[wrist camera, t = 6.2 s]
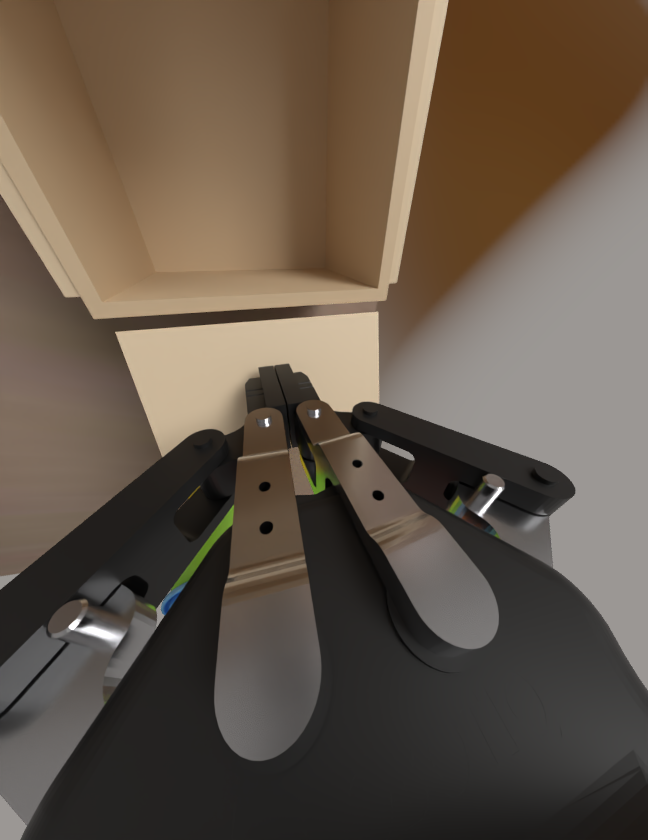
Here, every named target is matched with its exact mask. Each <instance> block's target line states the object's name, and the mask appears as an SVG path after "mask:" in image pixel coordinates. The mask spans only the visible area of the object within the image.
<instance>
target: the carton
mask: <svg viewBox="0 0 648 840" xmlns="http://www.w3.org/2000/svg"><path fill="white" fill-rule="evenodd" d="M447 5H448V0H0V194H1V196H2V197H3V199H4V201H5V202H6V204H7V205H8V207H9V209H10V210H11V212H12V213H13V215H14V217H15V218H16V220H17V221H18V223H19V224H20V226H21V228H22V229H23V231H24V232H25V234H26V236H27V237H28V239H29V240H30V242H31V244H32V245H33V247H34V248H35V250H36V252H37V253H38V255H39V256H40V258H41V260H42V261H43V263H44V264H45V266H46V268H47V269H48V271H49V272H50V274H51V276H52V277H53V279H54V280H55V282H56V284H57V285H58V287H59V288H60V290H61V291H62V293H63V295H64V296H65V297H81V298H82V300H83V301H84V303H85V305H86V307H87V308H88V310H89V312H90V313H91V315H92V317H93V318H94V319H104V318H120V317H135V316H151V315H167V314H182V313H198V312H214V311H229V310H245V309H261V308H276V307H292V306H308V305H323V304H339V303H355V302H370V301H385V300H386V298H387V292H388V286H389V283H397V278H398V273H399V268H400V262H401V257H402V251H403V245H404V240H405V235H406V229H407V224H408V218H409V213H410V208H411V202H412V196H413V191H414V186H415V180H416V175H417V169H418V164H419V158H420V153H421V147H422V142H423V136H424V131H425V125H426V120H427V114H428V109H429V103H430V98H431V93H432V87H433V82H434V77H435V71H436V65H437V60H438V55H439V49H440V44H441V38H442V33H443V27H444V21H445V17H446V11H447Z"/></svg>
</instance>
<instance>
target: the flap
mask: <svg viewBox="0 0 648 840" xmlns="http://www.w3.org/2000/svg"><path fill="white" fill-rule="evenodd" d="M115 333H116V335H117V338H118V341H119V343H120V346H121V349H122V351H123V354H124V357H125V359H126V362H127V365H128V367H129V370H130V372H131V375H132V378H133V380H134V383H135V386H136V388H137V391H138V394H139V396H140V399H141V402H142V404H143V407H144V410H145V412H146V415H147V418H148V420H149V423H150V426H151V428H152V431H153V434H154V436H155V439H156V442H157V444H158V447H159V450H160V452H161V455H162V457H164V456H165V455H166V454H167V453H168V452H170V451H171V450H172V449H173V448H175V447H176V446H177V445H178V444H179V443H181V442H182V441H183V440H184V439H186V438H187V437H188V436H190V435H191V434H193V433H195V432H198V431H201V430H205V429H216V430H219V431H221V432H222V433H223V434H224V435H227V434H229V433H232V432H234V431H236V430H238V429H240V428H241V427H242V426H243V425H244V422H245V418H246V416H247V415H248V412H247V402H246V391H245V384H246V382H247V381H248V379H250V378H258V377H260V375H259V369H258V367H264V366H272V365H273V366H274V365H280V364H288V363H289V364H290V367H291V369H292V371H293V373H295V372H302V373H304V374H305V375H307V376H308V378H309V380H310V382H311V383H312V385H313V387H314V389H315V391H316V393H317V394H318V396H319V398H320V400H321V401H324V402H326V403H328V404H329V405H330V406H331V408H332V409H333V411H338V412H352V409H353V407H354V406H355V405H356V404H358V403H360V402H375V403H378V404H379V344H378V343H379V342H378V312H370V313H356V314H343V315H330V316H317V317H304V318H291V319H278V320H265V321H252V322H239V323H226V324H213V325H200V326H187V327H174V328H160V329H147V330H134V331H121V332H115Z"/></svg>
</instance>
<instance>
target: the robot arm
mask: <svg viewBox="0 0 648 840" xmlns="http://www.w3.org/2000/svg"><path fill="white" fill-rule="evenodd" d="M258 369H259V375H260V377H258V378H250V379H248V381H247V382H246V384H245V391H246V402H247V412H248V415H247V416H246V418H245V422H244V425H243V426H242V427H241V428H240V429H238V430H236V431H234V432H232V433H229V434H227V435H224V434H223V433H222V432H221V431H219V430H216V429H205V430H201V431H198V432H195V433H193V434H191V435H190V436H188V437H187V438H186V439H184V440H183V441H182V442H181V443H179V444H178V445H177V446H176V447H175V448H173V449H172V450H171V451H170V452H168V453H167V454H166V455H165V456H164V457H162V458H161V459H160V460H159V461H157V462H156V463H155V464H154V465H153V466H151V467H150V468H149V469H148V470H146V471H145V472H144V473H143V474H142V475H140V476H139V477H138V478H137V479H135V480H134V481H133V482H132V483H130V484H129V485H128V486H127V487H126V488H124V489H123V490H122V491H121V492H119V493H118V494H117V495H116V496H115V497H113V498H112V499H111V500H110V501H108V502H107V503H106V504H105V505H104V506H102V507H101V508H100V509H99V510H97V511H96V512H95V513H94V514H93V515H91V516H90V517H89V518H88V519H86V520H85V521H84V522H83V523H82V524H80V525H79V526H78V527H77V528H75V529H74V530H73V531H72V532H71V533H69V534H68V535H67V536H66V537H64V538H63V539H62V540H61V541H59V542H58V543H57V544H56V545H55V546H53V547H52V548H51V549H50V550H48V551H47V552H46V553H45V554H44V555H42V556H41V557H40V558H39V559H37V560H36V561H35V562H34V563H33V564H31V565H30V566H29V567H28V568H26V569H25V570H24V571H23V572H22V573H20V574H19V575H18V576H17V577H15V578H14V579H13V580H12V581H11V582H9V583H8V584H7V585H6V586H5V587H3V588H2V589H1V590H0V795H1V796H2V797H3V798H4V799H5V800H6V802H8V804H9V805H10V806H11V807H12V809H13V810H14V811H15V812H16V813H17V814H18V816H19V817H20V818H21V819H22V820H23V822H24V823H25V824H26V825H27V827H26V829H25V831H24V833H23V835H22V838H21V840H648V690H647V689H646V688H645V686H644V685H643V683H642V682H641V680H640V679H639V677H638V676H637V674H636V673H635V671H634V669H633V668H632V666H631V665H630V663H629V661H628V660H627V658H626V656H625V655H624V653H623V651H622V649H621V647H620V646H619V644H618V642H617V640H616V638H615V637H614V635H613V633H612V631H611V630H610V628H609V626H608V624H607V623H606V622H605V620H604V619H603V617H602V616H601V614H600V613H599V612H598V610H597V609H596V608H595V607H594V605H593V604H592V603H591V602H590V601H589V600H588V598H587V597H586V596H585V595H584V594H583V593H582V592H581V591H580V590H579V589H578V588H577V587H576V586H575V585H574V584H573V583H571V582H570V581H569V580H568V579H567V578H565V577H564V576H563V575H562V574H560V573H559V572H558V571H556V570H555V569H553V561H552V550H551V538H550V525H549V516H550V515H551V514H552V513H553V512H555V511H556V510H557V509H558V508H559V507H561V506H562V505H563V504H564V503H565V502H567V501H568V500H569V499H570V498H572V497H573V496H574V494H575V487H574V485H573V484H572V482H571V481H570V480H569V479H568V477H566V476H565V475H564V474H563V473H562V472H560V471H559V470H557V469H556V468H554V467H552V466H550V465H548V464H546V463H543V462H540V461H538V460H535V459H532V458H529V457H526V456H523V455H520V454H518V453H515V452H512V451H510V450H507V449H504V448H501V447H498V446H496V445H493V444H490V443H487V442H484V441H481V440H479V439H476V438H473V437H470V436H468V435H465V434H462V433H459V432H456V431H454V430H451V429H448V428H445V427H442V426H439V425H437V424H434V423H431V422H428V421H426V420H423V419H420V418H417V417H414V416H412V415H409V414H406V413H403V412H400V411H398V410H395V409H392V408H389V407H386V406H384V405H381V404H378V403H375V402H360V403H358V404H356V405H355V406H354V407H353V409H352V412H338V411H333V409H332V408H331V406H330V405H329V404H328V403H326V402H324V401H321V400H320V398H319V396H318V394H317V393H316V391H315V389H314V387H313V385H312V383H311V382H310V380H309V378H308V376H307V375H305V374H304V373H302V372H295V373H293V371H292V369H291V367H290V364H289V363H288V364H280V365H274V366H273V365H272V366H264V367H258ZM290 441H291V444H290ZM382 441H385V442H387V443H389V444H392V445H394V446H396V447H399V448H401V449H403V450H406V451H408V452H410V453H411V454H412V455H413V456H414V458H415V460H414V461H412V460H408V459H406V458H404V457H401V456H399V455H397V454H395V453H392V452H390V451H388V450H385V449H383V448H381V443H382ZM291 445H292V448H293V447H298V448H299V451H300V460H301V463H302V465H303V468H304V470H305V473H306V475H307V477H308V480H309V482H310V485H311V487H312V489H313V492H314V495H295V491H294V484H293V478H292V472H291V465H290V459H289V450H288V449H289V448H291ZM199 486H200V487H199ZM198 487H199V488H198ZM197 488H198V489H197ZM196 489H197V490H196ZM195 490H196V491H195ZM194 491H195V493H194V494H193V495H192V496H191V497H190V495H191V494H192V493H193V492H194ZM189 497H190V498H189ZM188 498H189V499H188ZM187 499H188V500H187ZM186 500H187V501H186ZM185 501H186V502H185ZM184 502H185V503H184ZM183 503H184V504H183ZM182 504H183V505H182ZM181 505H182V506H181ZM233 505H234V513H233V525H232V526H231V527H229V528H228V529H227V530H226V531H225V532H224V533H223V534H222V535H221V536H220V537H219V538H218V539H217V541H216V542H215V543H214V544H213V546H212V547H211V548H210V550H209V551H208V553H207V554H206V556H205V557H204V559H203V560H202V562H201V563H200V565H199V566H198V568H197V569H196V570H195V572H194V573H193V575H192V576H191V578H190V579H189V581H188V582H187V584H186V585H185V587H184V588H183V590H182V591H181V593H180V594H179V596H178V597H177V599H176V600H175V602H174V603H173V604H172V606H171V607H170V609H169V610H168V612H167V613H166V615H165V616H164V618H163V619H162V621H161V622H160V624H159V625H158V627H157V628H156V623H157V613H156V608H157V607H158V606H159V604H160V603H161V602H162V600H163V599H164V598H165V596H166V595H167V594H168V592H169V591H170V590H171V588H172V587H173V586H174V584H175V583H176V582H177V580H178V579H179V578H180V576H181V575H182V574H183V572H184V571H185V570H186V568H187V567H188V566H189V564H190V563H191V561H192V560H193V559H194V557H195V556H196V555H197V553H198V552H199V551H200V549H201V548H202V547H203V545H204V544H205V543H206V541H207V540H208V539H209V537H210V536H211V535H212V533H213V532H214V531H215V529H216V528H217V527H218V525H219V524H220V523H221V521H222V520H223V519H224V517H225V516H226V514H227V513H228V512H229V510H230V509H231V508H232V506H233ZM180 506H181V508H180V509H179V507H180ZM178 509H179V510H178ZM177 510H178V511H177ZM155 628H156V630H155Z"/></svg>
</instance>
